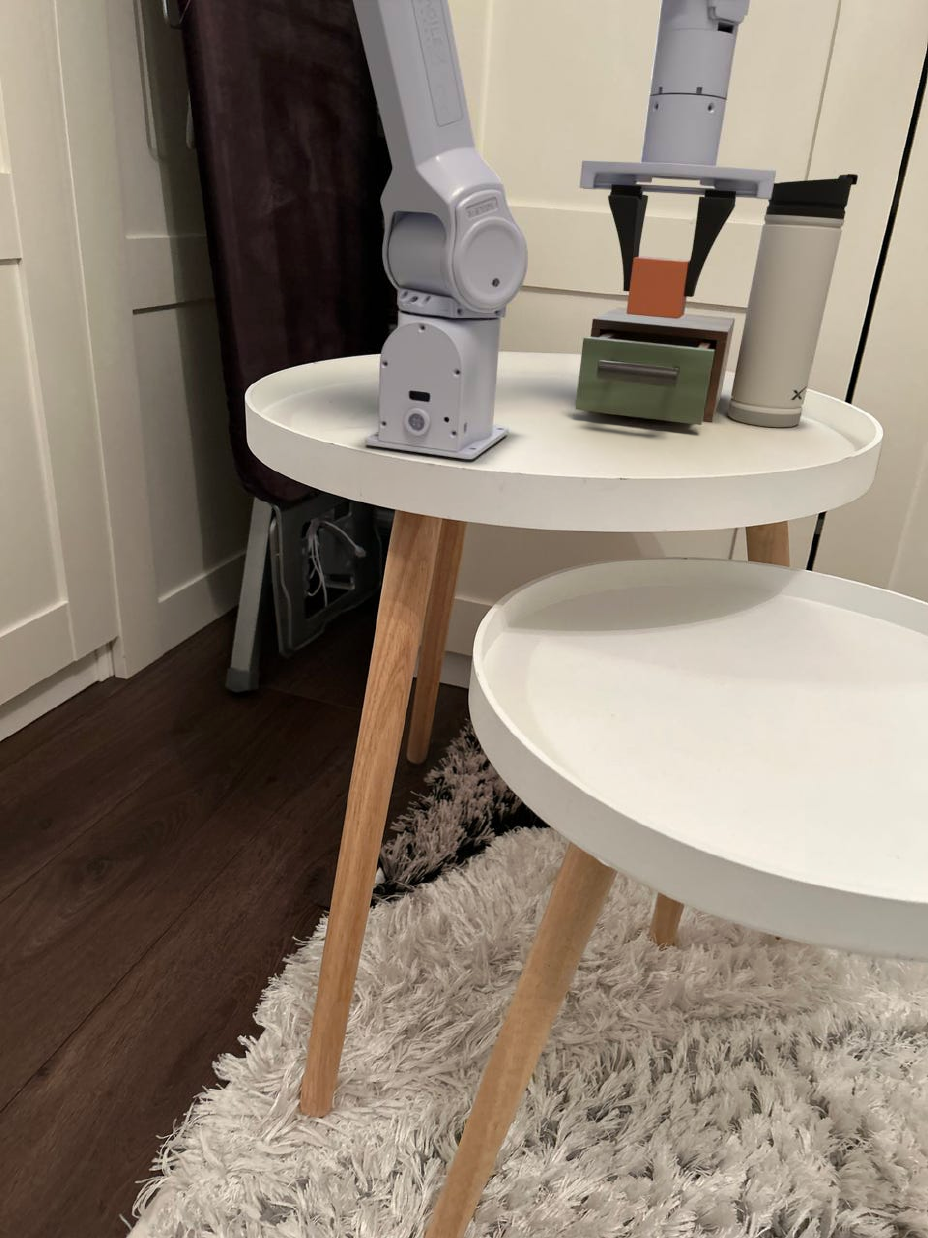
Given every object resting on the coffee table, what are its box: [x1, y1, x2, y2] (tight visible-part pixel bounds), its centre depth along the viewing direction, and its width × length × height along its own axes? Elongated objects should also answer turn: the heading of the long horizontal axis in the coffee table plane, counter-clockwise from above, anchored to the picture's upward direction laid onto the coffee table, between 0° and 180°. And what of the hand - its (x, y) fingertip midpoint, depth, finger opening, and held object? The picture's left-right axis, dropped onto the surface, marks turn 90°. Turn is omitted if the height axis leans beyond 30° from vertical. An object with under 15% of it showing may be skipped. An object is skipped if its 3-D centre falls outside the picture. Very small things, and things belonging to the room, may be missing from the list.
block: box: [626, 256, 690, 319], centre depth 71 cm, size 4×4×4 cm
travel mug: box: [727, 173, 859, 428], centre depth 75 cm, size 6×7×20 cm
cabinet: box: [590, 307, 736, 423], centre depth 83 cm, size 14×12×8 cm
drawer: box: [575, 330, 715, 426], centre depth 75 cm, size 17×10×6 cm, turn 162°
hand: (659, 293), depth 71 cm, fingers closed on block, 4 cm apart
